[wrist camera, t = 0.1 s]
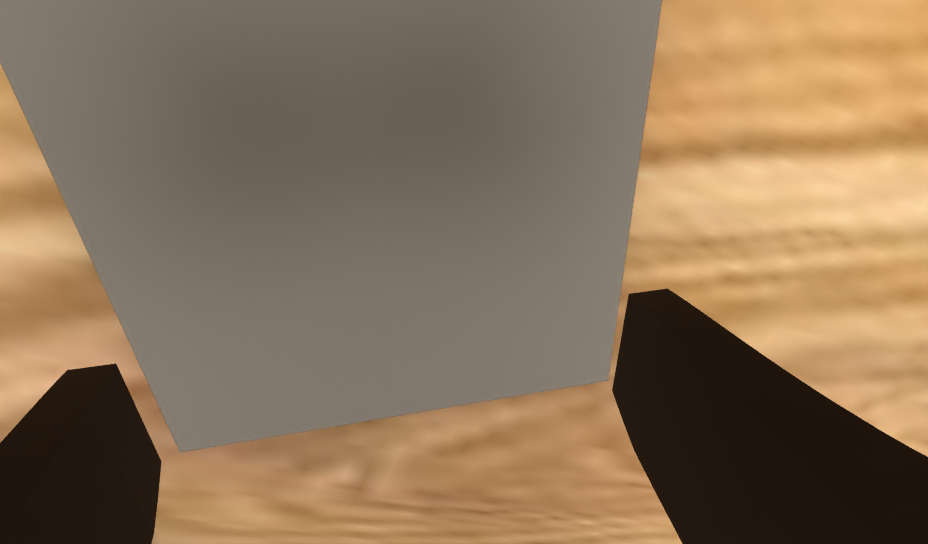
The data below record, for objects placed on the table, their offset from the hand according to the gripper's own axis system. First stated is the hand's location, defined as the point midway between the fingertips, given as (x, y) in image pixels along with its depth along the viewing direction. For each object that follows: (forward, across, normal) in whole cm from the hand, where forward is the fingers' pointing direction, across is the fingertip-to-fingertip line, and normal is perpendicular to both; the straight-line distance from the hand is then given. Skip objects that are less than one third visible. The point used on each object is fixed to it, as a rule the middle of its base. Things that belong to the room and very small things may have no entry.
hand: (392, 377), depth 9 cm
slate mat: (+10, 0, +4) cm, 11 cm away
